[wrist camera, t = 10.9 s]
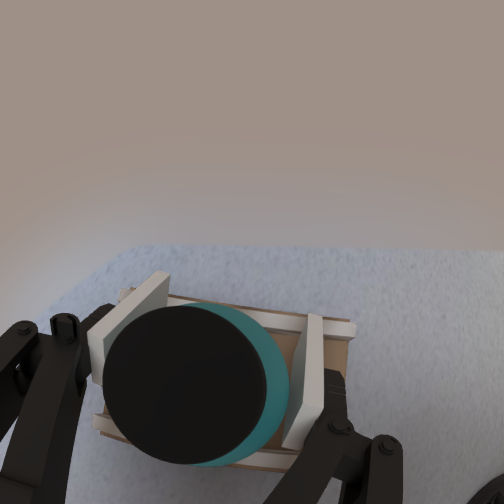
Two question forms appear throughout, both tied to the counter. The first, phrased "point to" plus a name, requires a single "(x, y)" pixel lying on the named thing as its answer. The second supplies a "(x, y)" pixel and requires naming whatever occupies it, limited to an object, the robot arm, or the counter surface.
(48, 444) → the robot arm
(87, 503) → the counter surface
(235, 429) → the beverage bottle
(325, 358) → the rail board
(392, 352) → the counter surface
